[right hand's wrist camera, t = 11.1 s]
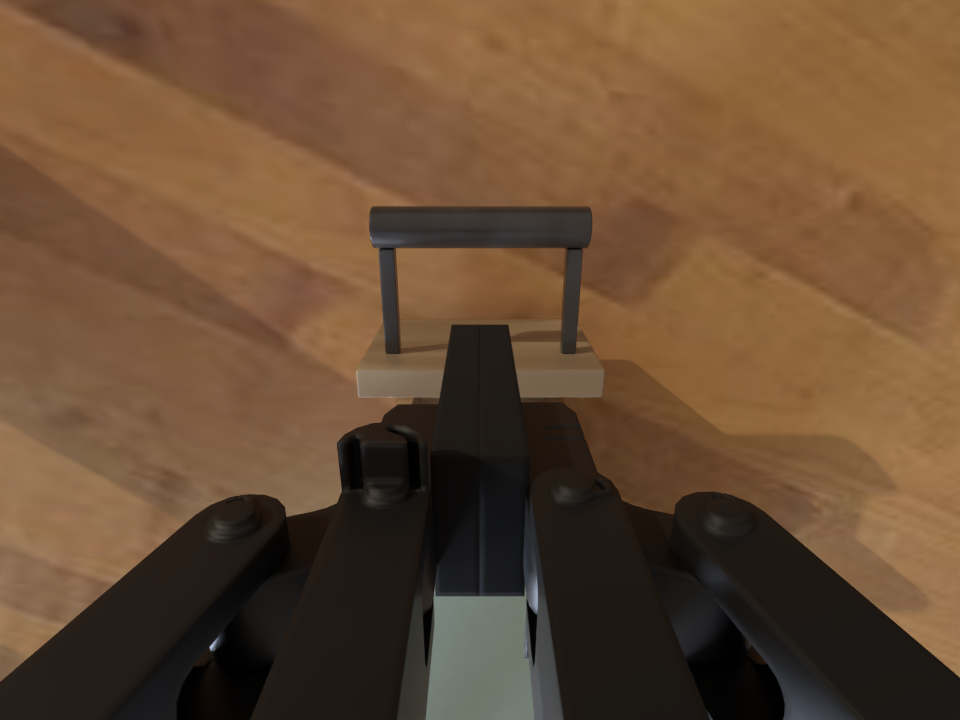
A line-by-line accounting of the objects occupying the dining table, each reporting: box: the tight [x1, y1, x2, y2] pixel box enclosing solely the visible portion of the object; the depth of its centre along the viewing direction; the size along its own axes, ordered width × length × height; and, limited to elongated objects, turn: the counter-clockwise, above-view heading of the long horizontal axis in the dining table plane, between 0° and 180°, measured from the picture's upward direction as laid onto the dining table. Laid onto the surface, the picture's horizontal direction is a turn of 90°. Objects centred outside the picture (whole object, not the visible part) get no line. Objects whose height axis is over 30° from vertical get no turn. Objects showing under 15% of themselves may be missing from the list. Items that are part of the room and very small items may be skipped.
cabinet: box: [426, 587, 534, 720], centre depth 31 cm, size 20×11×9 cm, turn 0°
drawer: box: [356, 206, 605, 406], centre depth 26 cm, size 25×10×7 cm, turn 0°
